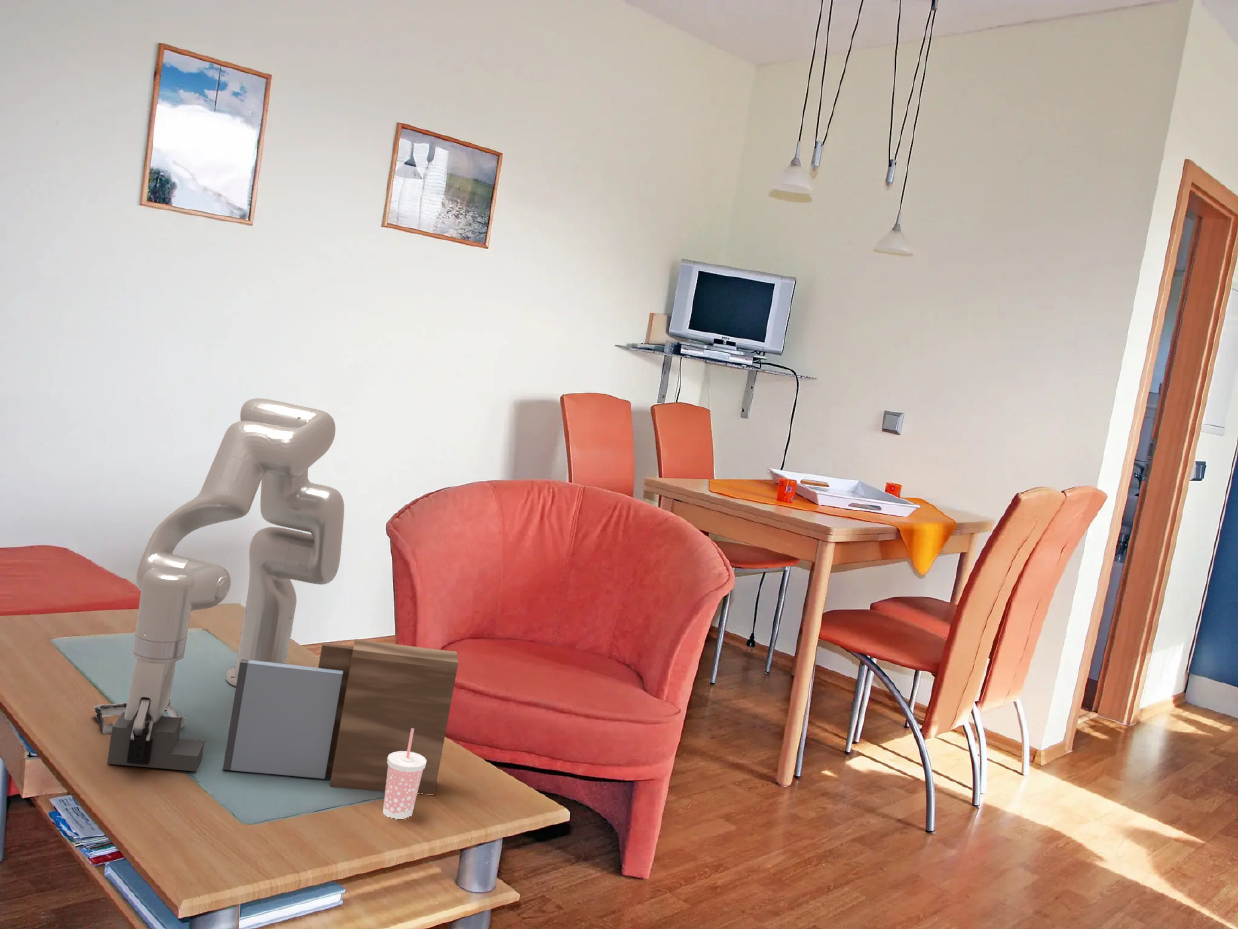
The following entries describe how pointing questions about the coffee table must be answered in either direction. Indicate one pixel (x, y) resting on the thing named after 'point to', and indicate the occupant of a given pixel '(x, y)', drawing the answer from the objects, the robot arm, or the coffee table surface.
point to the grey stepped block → (157, 745)
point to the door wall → (387, 710)
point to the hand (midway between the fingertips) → (143, 753)
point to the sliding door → (282, 719)
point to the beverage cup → (402, 782)
